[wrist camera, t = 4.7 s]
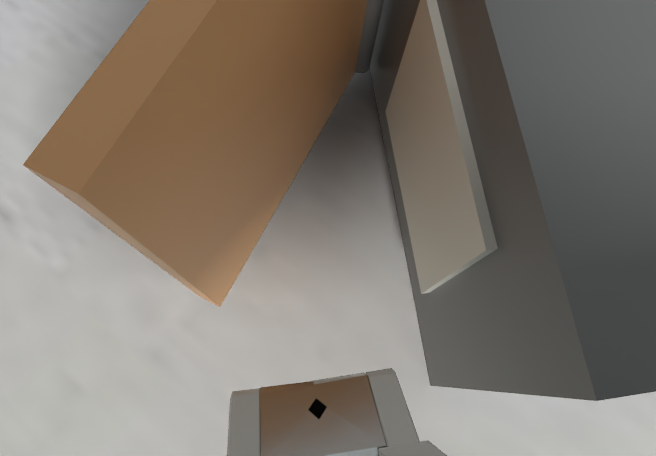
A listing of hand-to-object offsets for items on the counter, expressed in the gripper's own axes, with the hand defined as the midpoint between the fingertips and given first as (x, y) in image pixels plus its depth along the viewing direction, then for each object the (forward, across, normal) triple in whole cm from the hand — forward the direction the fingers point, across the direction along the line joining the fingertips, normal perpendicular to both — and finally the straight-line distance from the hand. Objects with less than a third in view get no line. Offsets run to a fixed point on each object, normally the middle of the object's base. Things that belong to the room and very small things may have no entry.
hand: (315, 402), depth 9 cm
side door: (+14, 0, +1) cm, 14 cm away
